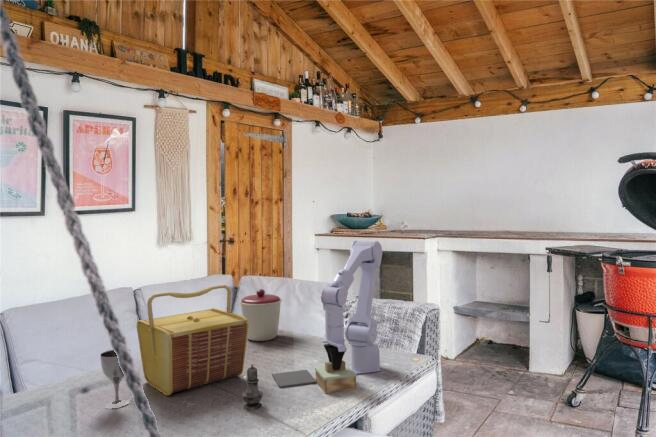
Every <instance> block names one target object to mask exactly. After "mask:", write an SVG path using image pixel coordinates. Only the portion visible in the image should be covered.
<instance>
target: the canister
mask: <svg viewBox="0 0 656 437" xmlns="http://www.w3.org/2000/svg"><path fill="white" fill-rule="evenodd" d="M265 292H266V291H265V290H264V289H262V288H261V289H257V290H256V294H252V295H246V296H244V297H243V298H241V299H240V300H239V304H240V306H241V314H242V315H241V316H244V317H245V318H246V319H247V320H248V335H247V340H249V341H253V342H265V341H267V342H268V341H270V340H273V339H275V338H276V336H278V333H279V325H280V316H281V314H280V313H281V312H280V311H281V303H282V301H283V299H282V298H281V297H279V296H278V295H275V294H267V293H265Z"/></svg>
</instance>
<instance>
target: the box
mask: <svg viewBox="0 0 656 437" xmlns="http://www.w3.org/2000/svg"><path fill="white" fill-rule="evenodd" d="M315 380H316V381H317V383H316V385H318V387H319V388H320V389H321V390H322V392H323V393H324V394H330V393H337V392H345V391H352V390H357V376H355V377H347V378H339V379H332V380H324V379H323V378H322V377H321V376H320V375H319V374H318V373H317V372H316V371H315Z"/></svg>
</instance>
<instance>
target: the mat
mask: <svg viewBox="0 0 656 437" xmlns="http://www.w3.org/2000/svg"><path fill="white" fill-rule="evenodd" d="M271 376H272V378H273V380H274V382H275V383H276V385H277V386H278V388H279V389H284V388H291V387H299V386H306V385H311V384H312V385H313V384H317V381H316V378H314V377H313V375H312V374H311V372H310V371H309V370H308V369H301V370H300V369H299V370H292V371H285V372H276V373H271Z"/></svg>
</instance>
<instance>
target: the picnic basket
mask: <svg viewBox="0 0 656 437" xmlns="http://www.w3.org/2000/svg"><path fill="white" fill-rule="evenodd" d="M217 289H226V292H227V294H226V295H227V297H226V310H223V309H220V308H216V307H212V308H210V309H209V308H208V309H204V310H197V311H191V312H185V313H180V314H173V315H169V316H168V315H167V316H162V317H156V318H154V314H153V306H152V305H153V304H152V303H153V300H154V299H156V298H159V297H165V296H166V297H168V296H169V297H173V298H176V299H177V298H178V299H179V298H180V299H188V298H195V297H196V298H197V297H201V296H202V295H206V294H208V293H210V292H211V291H213V290H217ZM231 302H232V290H231V287H230V286H228V285H226V284H221V285H215V286H210V287H207V288H203V289H201V290H199V291H198V290H197V291H193V292H186V293H185V292H184V293H183V292H170V291H169V292H159V293H154V294H152V295H151V296H150V297H149V298H148V299H147V303H146V306H147V315H148V319H139V320H137V322H136V333H137V339H138V344H139V345H138V346H139V352H140V357H141V365H142V373H143V376H144V379H145V381H146V383H147V384H148V385H149V386H151V387H153V389H155V388H156V389H155V390H157V391H158V392H160V393H161V392H162V393H161V394H163V395H164V396H170V395H172V394H173V393H177V392H182V391H185V390H189V389H192V388H196V387H200V386H203V385H207V384H210V383H214V382H217V381H221V380H225V379H228V378H229V379H230V378H232V377H233V378H234V377H240V376H242V374H243V373H244V372H243V371H244V366H245V357H246V350H247V342H248V338H247V335H248V320H247V319H246V318H245V317H244V316H243V315H240V314H237V313H232V312H231Z"/></svg>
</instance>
